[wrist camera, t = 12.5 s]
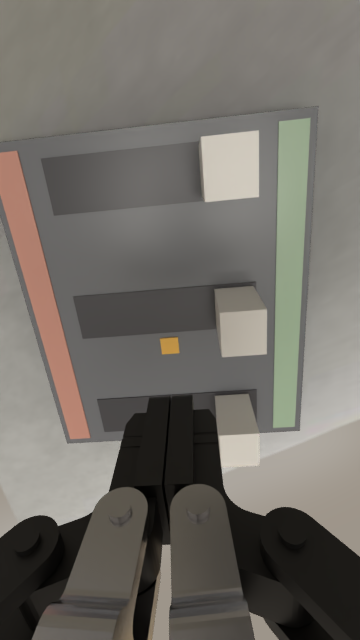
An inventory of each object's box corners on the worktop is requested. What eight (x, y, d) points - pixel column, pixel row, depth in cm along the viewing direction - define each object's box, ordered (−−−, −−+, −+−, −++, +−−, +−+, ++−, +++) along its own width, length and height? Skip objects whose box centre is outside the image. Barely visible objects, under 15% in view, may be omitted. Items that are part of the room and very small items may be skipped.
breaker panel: (3, 148, 20) (-22, 144, 18) (303, 114, 19) (319, 105, 17) (77, 421, 28) (66, 444, 26) (290, 409, 27) (299, 431, 25)
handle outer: (214, 395, 24) (219, 435, 20) (248, 393, 24) (259, 433, 20) (216, 424, 25) (221, 467, 21) (248, 422, 25) (259, 465, 21)
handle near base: (198, 145, 18) (200, 136, 14) (244, 140, 17) (258, 130, 14) (201, 197, 19) (204, 202, 15) (245, 193, 18) (259, 197, 15)
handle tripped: (214, 289, 21) (219, 312, 17) (253, 285, 20) (267, 309, 17) (216, 326, 22) (221, 357, 18) (253, 324, 21) (266, 354, 18)
